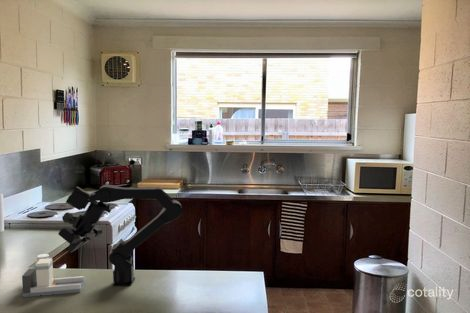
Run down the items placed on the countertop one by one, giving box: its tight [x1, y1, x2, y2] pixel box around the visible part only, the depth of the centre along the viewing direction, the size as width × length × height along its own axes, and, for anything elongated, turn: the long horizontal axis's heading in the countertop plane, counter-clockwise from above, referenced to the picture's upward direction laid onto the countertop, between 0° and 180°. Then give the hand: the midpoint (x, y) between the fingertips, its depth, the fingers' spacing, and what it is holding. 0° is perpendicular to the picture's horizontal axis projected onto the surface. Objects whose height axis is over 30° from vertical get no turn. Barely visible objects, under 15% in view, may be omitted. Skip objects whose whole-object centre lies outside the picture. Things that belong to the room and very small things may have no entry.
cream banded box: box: [35, 257, 54, 287], centre depth 135 cm, size 4×5×9 cm
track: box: [21, 267, 85, 298], centre depth 136 cm, size 18×8×7 cm, turn 101°
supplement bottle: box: [34, 253, 50, 268], centre depth 144 cm, size 5×5×10 cm
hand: (69, 252), depth 139 cm, fingers closed
